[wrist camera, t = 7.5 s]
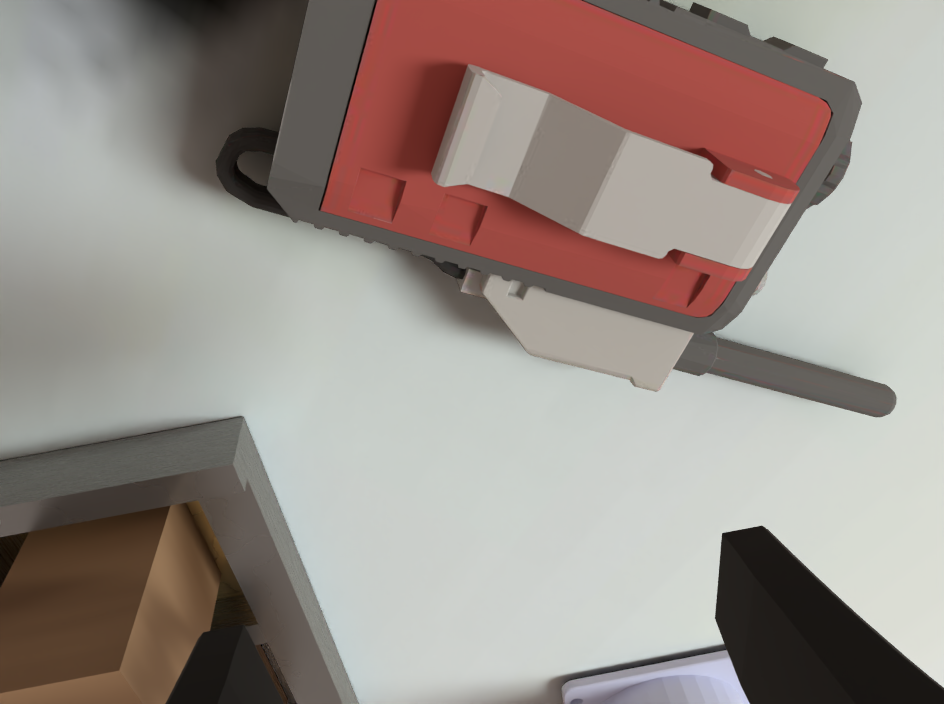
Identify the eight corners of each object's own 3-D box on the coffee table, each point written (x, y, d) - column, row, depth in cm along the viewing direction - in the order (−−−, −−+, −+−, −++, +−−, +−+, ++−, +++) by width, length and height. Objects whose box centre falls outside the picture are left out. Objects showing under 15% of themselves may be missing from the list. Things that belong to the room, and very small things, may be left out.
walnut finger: (227, 585, 24) (191, 773, 19) (105, 608, 24) (36, 803, 19) (177, 484, 21) (119, 671, 16) (40, 509, 21) (-60, 705, 16)
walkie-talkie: (208, 236, 18) (844, 404, 24) (168, 330, 14) (931, 502, 20) (286, -172, 14) (1038, 150, 19) (257, -188, 10) (1194, 215, 16)
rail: (360, 708, 29) (359, 882, 24) (134, 752, 29) (85, 937, 24) (243, 416, 20) (204, 590, 16) (-77, 475, 20) (-222, 670, 15)
